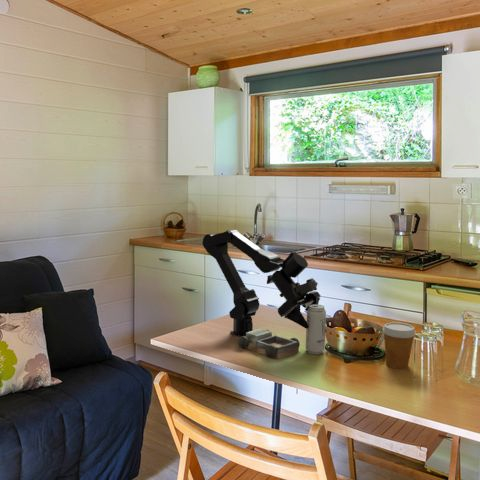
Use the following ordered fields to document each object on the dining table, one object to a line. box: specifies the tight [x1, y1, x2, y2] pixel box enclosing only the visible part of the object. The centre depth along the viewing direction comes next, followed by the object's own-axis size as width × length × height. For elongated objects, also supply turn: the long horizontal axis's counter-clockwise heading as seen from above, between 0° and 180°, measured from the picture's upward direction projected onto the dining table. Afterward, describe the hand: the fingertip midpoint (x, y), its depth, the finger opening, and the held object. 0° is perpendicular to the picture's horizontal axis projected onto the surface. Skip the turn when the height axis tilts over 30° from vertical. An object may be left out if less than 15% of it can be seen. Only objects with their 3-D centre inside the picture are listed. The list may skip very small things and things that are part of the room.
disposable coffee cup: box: [382, 322, 417, 370], centre depth 161 cm, size 10×10×12 cm
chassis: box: [237, 328, 301, 360], centre depth 174 cm, size 17×12×4 cm
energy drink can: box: [305, 304, 327, 355], centre depth 171 cm, size 6×6×15 cm
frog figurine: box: [376, 332, 385, 349], centre depth 176 cm, size 6×7×7 cm
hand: (315, 324), depth 171 cm, fingers open, 9 cm apart
